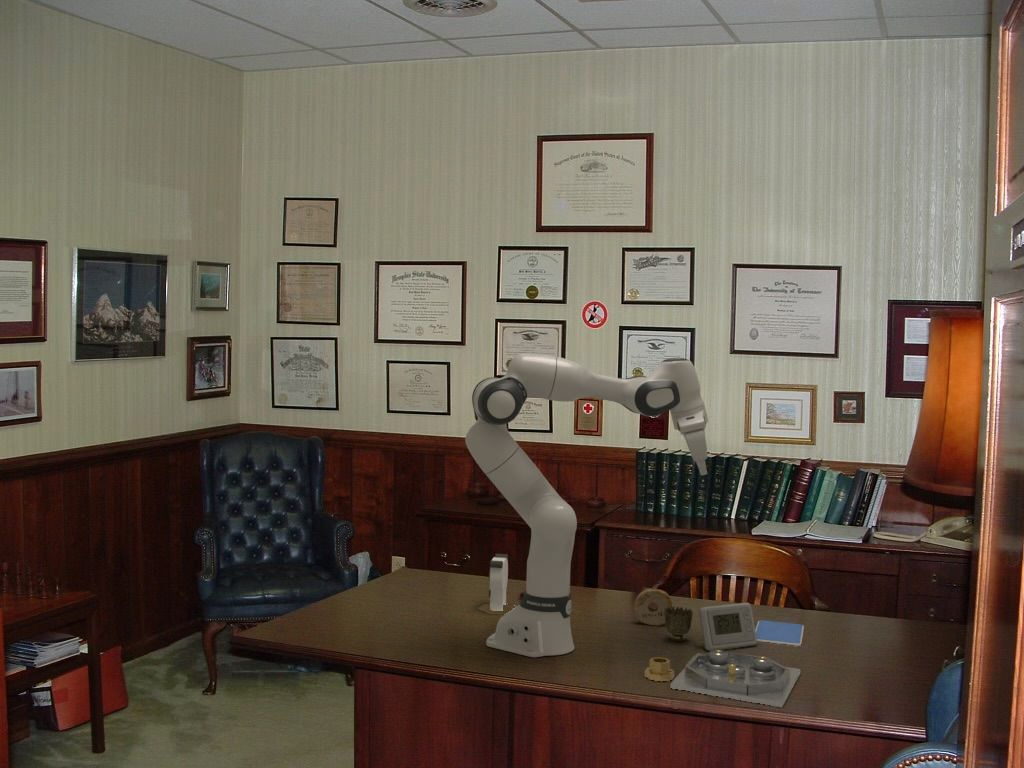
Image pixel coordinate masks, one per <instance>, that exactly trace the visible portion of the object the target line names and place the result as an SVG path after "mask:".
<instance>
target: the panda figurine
mask: <svg viewBox="0 0 1024 768" xmlns="http://www.w3.org/2000/svg"><path fill="white" fill-rule="evenodd" d="M508 559H509V554H507V553H495V556H493V558H492V559H491V560H490V562H489V572H488V580H489V581H488V582H489V589H488V598H489V603H490V610H492V611H503V605H506V603H507V586H508V585H507V584H508V576H509V563H508V561H509V560H508Z"/></svg>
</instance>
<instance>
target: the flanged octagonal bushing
mask: <svg viewBox="0 0 1024 768" xmlns="http://www.w3.org/2000/svg"><path fill="white" fill-rule="evenodd" d="M644 677H645V678H646V677H647V678H648V679H647V678H646V679H647V680H649V679H650V680H649V681H651V680H654V681H653V682H657V681H661V682H660V683H663V682H662V681H667V682H671V681H670V680H672V681H673V680H674V679H675V671H674V670H673V669H671V660H669V659H668V658H665V657H659V656H657V657H651V658H650V659H649V666H647V667H646V669H644Z"/></svg>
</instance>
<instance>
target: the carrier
mask: <svg viewBox="0 0 1024 768" xmlns="http://www.w3.org/2000/svg"><path fill="white" fill-rule="evenodd" d="M800 675H801V669H800V668H796V667H795V668H794V667H788V666H784V665H783V664H780V663H778V662H776V661H775V660H773V659H772V658H771V657H768V656H764V655H754V654H747V653H742V652H741V653H740V652H733V651H726V650H720V649H716V650H711V651H709V653H698V652H697V654H695V655H693V656H692V658H690V660H689V661H688V662H687V663H686V664H685V665H684V668H683V669H682V670H681V672H679V674H678V675H677V676H676V677H674V678H673V679H672V681H671V683H670V689H671V688H672V689H671V690H675V689H678V690H677V691H681V690H686V691H685V692H687V691H690V692H689V693H693V692H695V693H694V694H698V693H701V694H700V695H704V694H707V695H706V696H710V695H711V696H712V697H716V696H718V697H717V698H722V697H723V699H728V698H731V699H730V700H734V699H735V700H734V701H740V700H741V702H745V701H746V702H747V703H751V702H752V703H753V704H757V703H760V704H759V705H763V704H765V705H764V706H769V705H770V707H775V708H781V709H782V708H783V707H784V705H785V703H786V701H787V700H788V698H789V695H790V694H791V692H792V690H793V688H794V686H795V684H796V683H797V681H798V679H799V677H800ZM711 696H710V697H711Z"/></svg>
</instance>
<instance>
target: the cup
mask: <svg viewBox="0 0 1024 768" xmlns="http://www.w3.org/2000/svg"><path fill="white" fill-rule="evenodd" d="M664 612H665V623H664V624H665V628H666V631H667V632H668V633H669V634H670V639H671V640H672V641H674V642H683V641H685V637H686V636H685V635H687V634H688V633H689V632H690V629H691V626H692V621H693V620H692V619H693V610H692V609H691V608H687V607H685V608H683V607H682V606H677V607H676V608H675V607H674V606H672V609H671V608H670V607H667V609H666V608H665V611H664Z"/></svg>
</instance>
